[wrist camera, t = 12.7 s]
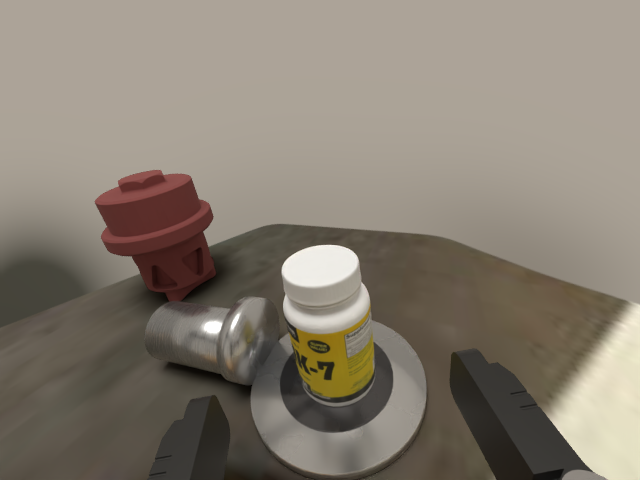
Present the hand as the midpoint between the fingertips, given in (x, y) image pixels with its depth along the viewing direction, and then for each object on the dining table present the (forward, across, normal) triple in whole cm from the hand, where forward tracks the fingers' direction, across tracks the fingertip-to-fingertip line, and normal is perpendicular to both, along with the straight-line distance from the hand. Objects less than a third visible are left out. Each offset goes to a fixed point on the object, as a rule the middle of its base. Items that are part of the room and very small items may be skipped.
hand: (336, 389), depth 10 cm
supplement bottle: (+6, 0, +7) cm, 10 cm away
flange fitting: (+8, +4, +8) cm, 12 cm away
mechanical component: (+22, +15, +8) cm, 28 cm away
